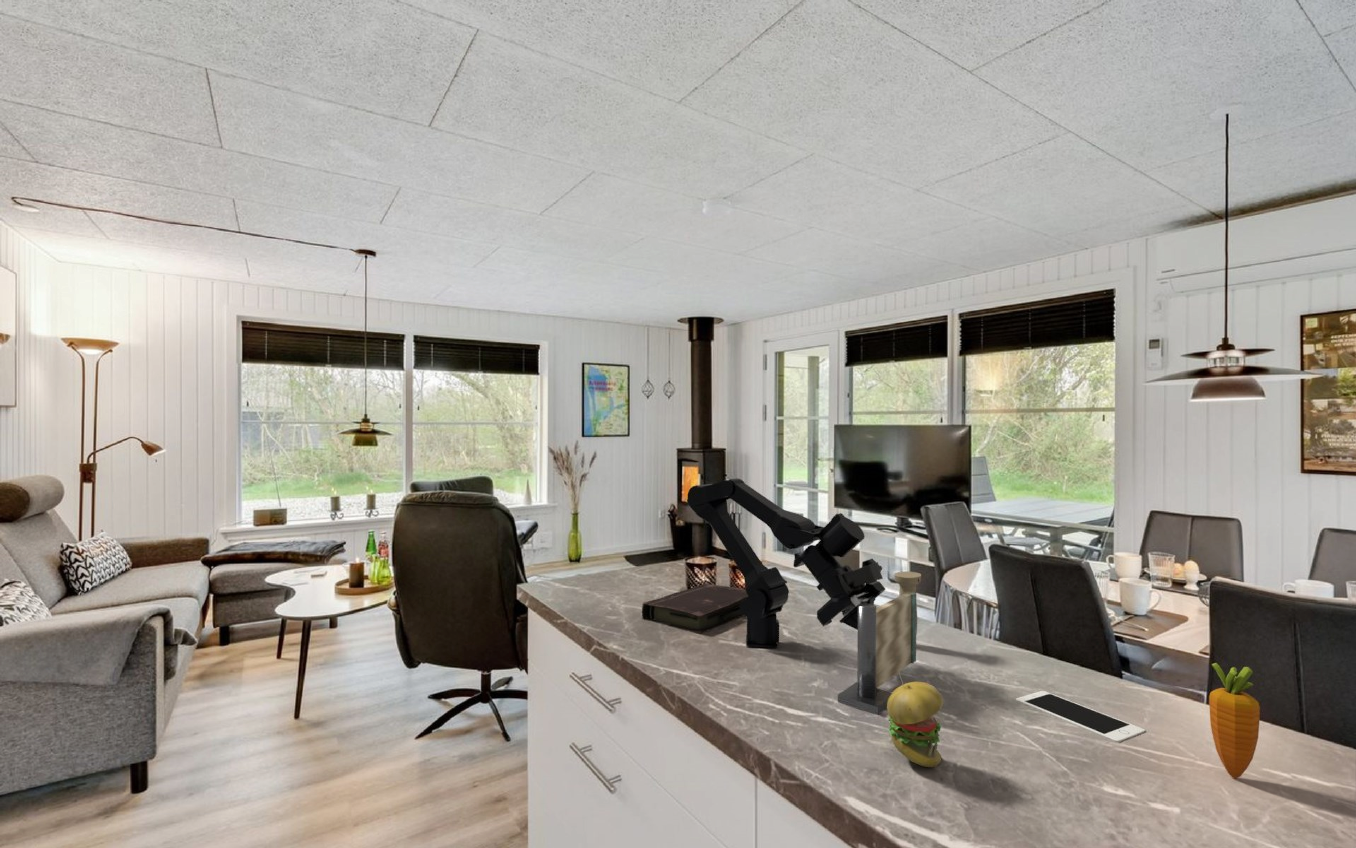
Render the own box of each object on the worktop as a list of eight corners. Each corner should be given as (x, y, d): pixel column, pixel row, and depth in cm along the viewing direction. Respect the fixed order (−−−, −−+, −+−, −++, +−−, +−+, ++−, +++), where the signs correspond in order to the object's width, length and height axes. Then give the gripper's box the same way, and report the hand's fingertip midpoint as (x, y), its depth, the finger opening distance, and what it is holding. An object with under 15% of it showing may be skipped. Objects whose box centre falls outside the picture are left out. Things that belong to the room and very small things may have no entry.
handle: (925, 644, 132) (925, 574, 132) (910, 651, 127) (911, 579, 128) (904, 638, 135) (904, 570, 136) (889, 645, 131) (889, 574, 131)
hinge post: (877, 714, 99) (878, 614, 99) (837, 701, 103) (838, 606, 104) (895, 700, 104) (895, 605, 104) (856, 689, 109) (856, 598, 109)
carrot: (1199, 768, 84) (1199, 657, 84) (1232, 767, 84) (1232, 657, 84) (1235, 790, 79) (1235, 672, 79) (1271, 788, 79) (1270, 671, 79)
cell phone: (1117, 745, 90) (1117, 741, 90) (1014, 702, 105) (1014, 698, 105) (1146, 734, 94) (1146, 730, 94) (1042, 693, 108) (1043, 690, 108)
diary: (640, 621, 148) (640, 600, 149) (702, 600, 168) (702, 581, 168) (702, 637, 137) (702, 614, 137) (761, 612, 156) (761, 592, 156)
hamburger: (949, 779, 81) (949, 687, 81) (891, 773, 82) (892, 682, 82) (935, 749, 88) (935, 665, 88) (882, 744, 89) (883, 661, 90)
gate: (876, 690, 104) (876, 613, 105) (866, 687, 106) (866, 611, 106) (916, 661, 118) (916, 593, 118) (906, 658, 119) (907, 591, 119)
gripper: (832, 553, 111) (891, 628, 104) (875, 540, 125) (931, 605, 118) (793, 589, 116) (848, 663, 109) (840, 573, 130) (890, 637, 123)
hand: (882, 640), depth 114 cm, fingers closed
